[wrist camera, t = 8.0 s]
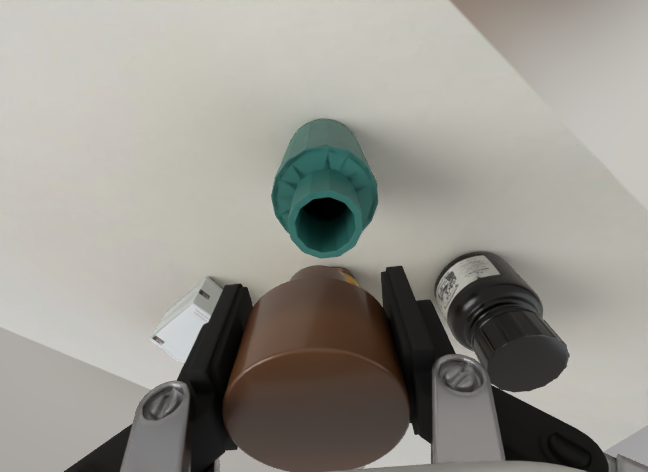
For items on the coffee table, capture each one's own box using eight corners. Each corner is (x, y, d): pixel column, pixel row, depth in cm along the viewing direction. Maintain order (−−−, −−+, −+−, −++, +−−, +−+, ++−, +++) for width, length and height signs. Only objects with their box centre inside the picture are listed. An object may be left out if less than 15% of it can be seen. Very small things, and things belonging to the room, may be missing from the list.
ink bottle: (461, 236, 37) (518, 306, 26) (528, 261, 38) (609, 338, 27) (417, 303, 41) (452, 388, 30) (480, 324, 42) (534, 412, 31)
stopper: (245, 245, 13) (196, 361, 8) (374, 230, 12) (410, 339, 7) (271, 343, 15) (245, 482, 10) (382, 331, 14) (413, 468, 10)
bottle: (282, 124, 31) (249, 173, 17) (355, 113, 31) (385, 155, 17) (295, 193, 34) (276, 284, 20) (362, 184, 34) (391, 271, 20)
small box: (257, 314, 41) (249, 345, 37) (215, 346, 44) (202, 379, 39) (208, 274, 39) (192, 302, 34) (165, 310, 41) (145, 341, 36)
